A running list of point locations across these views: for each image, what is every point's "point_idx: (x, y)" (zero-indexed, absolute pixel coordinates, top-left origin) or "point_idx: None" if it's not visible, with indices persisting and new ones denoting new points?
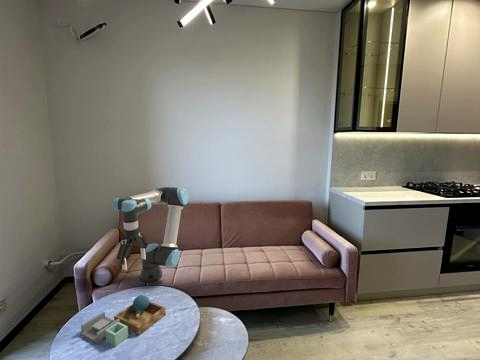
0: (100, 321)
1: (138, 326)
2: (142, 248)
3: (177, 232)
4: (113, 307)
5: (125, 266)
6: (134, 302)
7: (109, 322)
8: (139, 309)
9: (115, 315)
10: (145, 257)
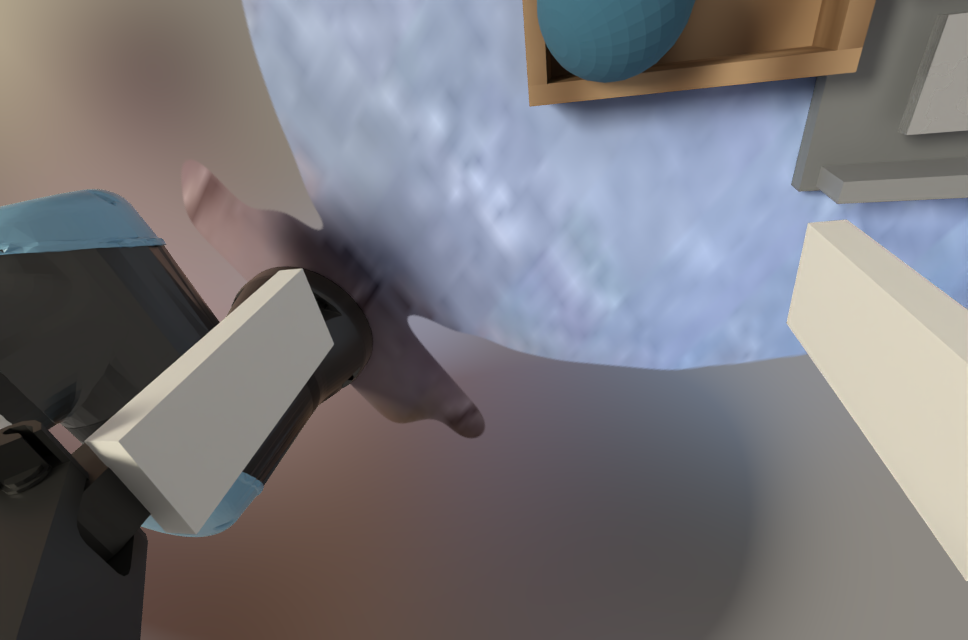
0: (952, 113)
1: None
2: (150, 492)
3: None
4: (656, 253)
5: (906, 266)
6: (686, 7)
7: (952, 19)
8: None
9: (843, 66)
10: (264, 287)
